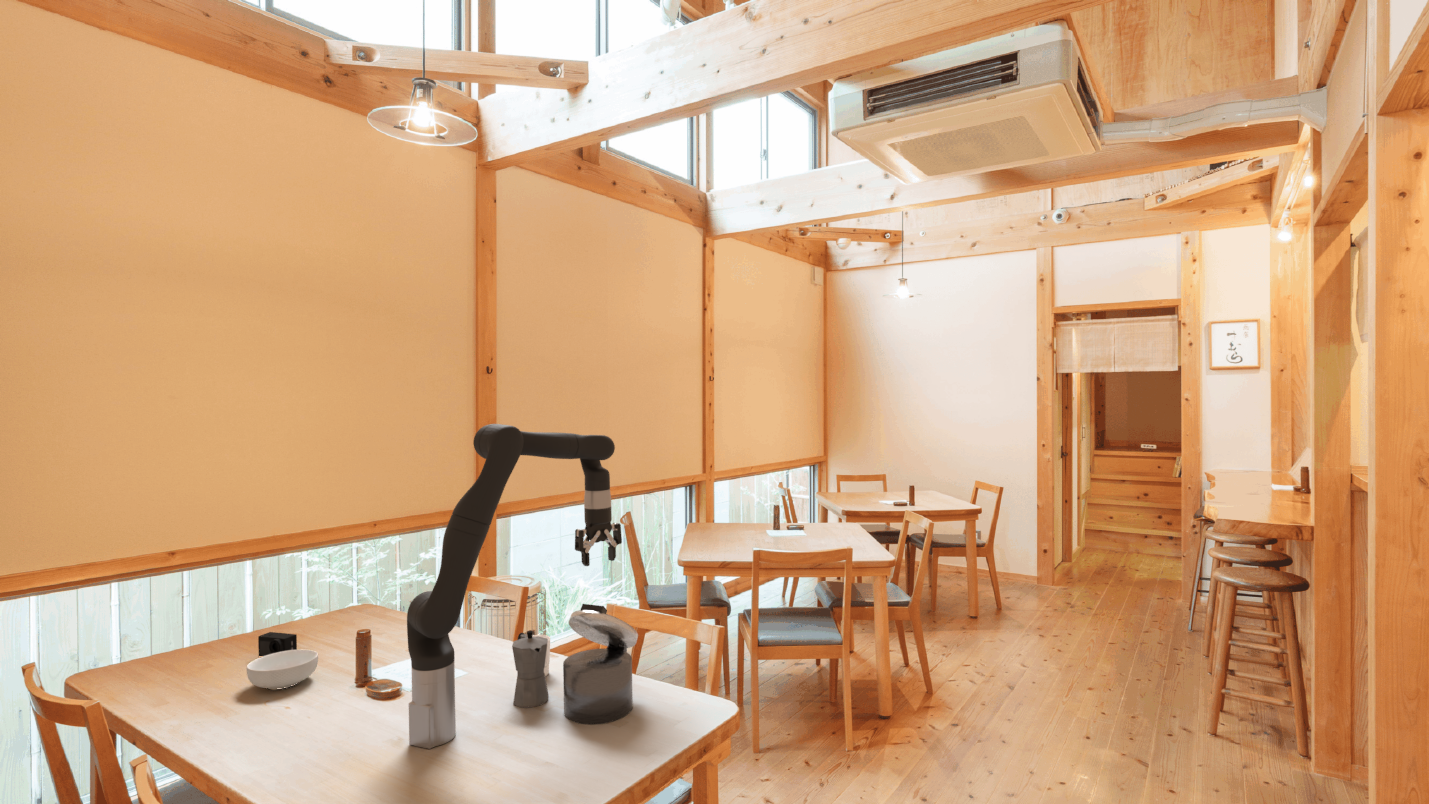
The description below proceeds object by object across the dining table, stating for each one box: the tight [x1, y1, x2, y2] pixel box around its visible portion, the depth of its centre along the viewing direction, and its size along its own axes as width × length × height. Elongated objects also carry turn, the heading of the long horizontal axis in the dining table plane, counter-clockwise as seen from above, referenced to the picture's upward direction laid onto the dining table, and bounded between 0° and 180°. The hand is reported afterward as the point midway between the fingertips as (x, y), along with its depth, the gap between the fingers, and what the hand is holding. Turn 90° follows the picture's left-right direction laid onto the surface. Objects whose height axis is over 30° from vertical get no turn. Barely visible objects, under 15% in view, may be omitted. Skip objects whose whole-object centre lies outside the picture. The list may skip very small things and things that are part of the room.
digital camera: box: [257, 631, 298, 657], centre depth 211 cm, size 10×5×7 cm, turn 74°
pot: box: [562, 646, 634, 725], centre depth 174 cm, size 19×17×12 cm
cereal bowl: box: [246, 648, 319, 689], centre depth 191 cm, size 17×17×7 cm
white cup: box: [532, 634, 551, 677], centre depth 195 cm, size 8×8×10 cm
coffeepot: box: [511, 630, 549, 709], centre depth 179 cm, size 15×9×18 cm, turn 33°
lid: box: [568, 603, 639, 649], centre depth 176 cm, size 19×18×3 cm
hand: (599, 562), depth 194 cm, fingers open, 8 cm apart
